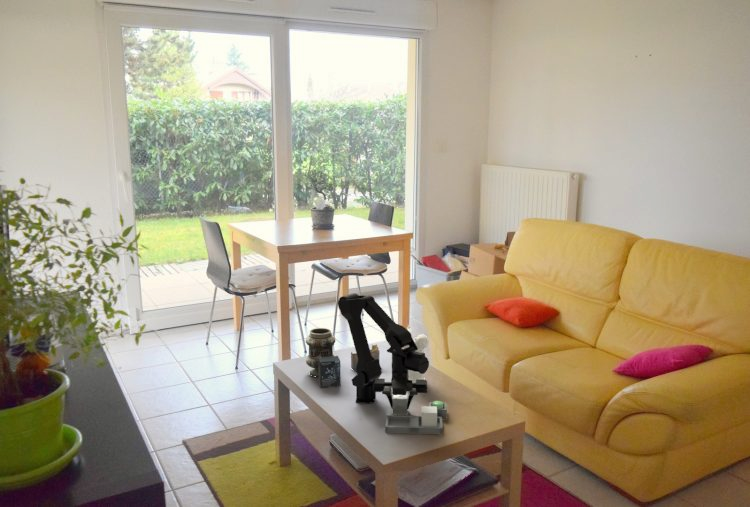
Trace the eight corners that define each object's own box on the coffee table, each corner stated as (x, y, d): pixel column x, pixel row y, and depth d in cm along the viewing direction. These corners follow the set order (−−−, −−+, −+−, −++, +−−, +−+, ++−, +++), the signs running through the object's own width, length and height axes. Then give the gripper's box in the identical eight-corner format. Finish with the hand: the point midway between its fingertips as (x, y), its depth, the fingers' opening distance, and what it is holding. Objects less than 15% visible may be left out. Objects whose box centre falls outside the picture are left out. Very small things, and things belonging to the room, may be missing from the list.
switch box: (429, 419, 223) (429, 409, 222) (428, 411, 229) (429, 402, 228) (446, 419, 223) (446, 409, 222) (446, 411, 229) (446, 402, 228)
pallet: (385, 432, 214) (385, 414, 212) (386, 420, 222) (386, 402, 221) (442, 434, 212) (442, 415, 211) (441, 422, 221) (442, 404, 219)
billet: (392, 415, 226) (392, 398, 225) (393, 408, 231) (393, 392, 230) (407, 415, 226) (407, 399, 224) (407, 409, 230) (407, 393, 229)
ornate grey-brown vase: (339, 369, 268) (338, 326, 265) (331, 380, 257) (330, 336, 253) (311, 366, 271) (310, 325, 267) (302, 378, 259) (300, 334, 256)
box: (320, 388, 249) (320, 362, 247) (318, 382, 255) (317, 356, 253) (341, 386, 251) (340, 360, 249) (338, 380, 256) (338, 355, 254)
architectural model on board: (377, 365, 273) (377, 343, 271) (379, 368, 270) (379, 345, 268) (351, 369, 270) (350, 346, 268) (353, 371, 267) (352, 349, 265)
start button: (432, 416, 224) (432, 405, 223) (432, 411, 228) (432, 400, 227) (443, 416, 224) (443, 405, 223) (443, 411, 227) (443, 401, 227)
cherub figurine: (431, 386, 251) (433, 331, 246) (403, 392, 246) (404, 336, 241) (416, 374, 262) (417, 322, 257) (388, 380, 256) (388, 326, 252)
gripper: (371, 374, 218) (371, 418, 221) (427, 375, 216) (427, 419, 219) (373, 362, 229) (373, 404, 232) (427, 363, 227) (426, 405, 230)
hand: (400, 408), depth 228 cm, fingers closed on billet, 5 cm apart
